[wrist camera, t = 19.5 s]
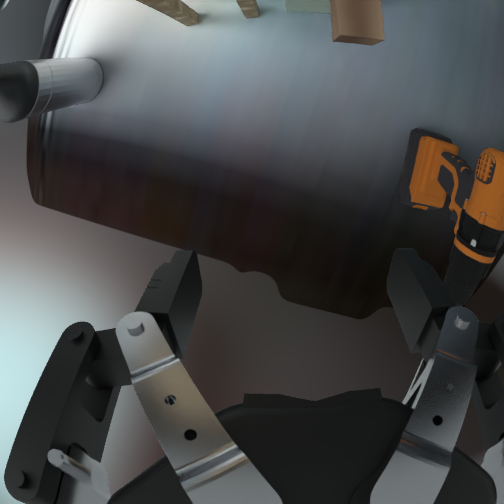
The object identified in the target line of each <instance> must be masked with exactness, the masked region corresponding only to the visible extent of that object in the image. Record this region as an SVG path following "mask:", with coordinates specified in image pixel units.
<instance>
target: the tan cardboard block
mask: <svg viewBox="0 0 504 504" xmlns="http://www.w3.org/2000/svg"><path fill="white" fill-rule="evenodd" d="M329 1H330V11H331V22H332V36H333V42H345V43H355V44H364V45H374V44H377V43H379V42H382V41H384V27H383V16H382V7H381V0H329Z"/></svg>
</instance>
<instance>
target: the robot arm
mask: <svg viewBox="0 0 504 504" xmlns="http://www.w3.org/2000/svg"><path fill="white" fill-rule="evenodd" d="M102 82H103V72H102V68H101V66H100V64H99V63H98V62H97V61H96V60H94V59H92V58H54V59H38V60H27V61H18V62H12V63H5V64H0V120H1V121H2V122H5V123H13V122H16V121H19V120H22V119H25V118H29V117H32V116H35V115H38V114H42V113H45V112H49V111H53V110H57V109H61V108H65V107H69V106H74V105H78V104H83V103H87V102H89V101H91V100H92V99H93V98H94V97H95V96H96V95H97V94H98V92H99V91H100V89H101V86H102ZM387 292H388V295H389V297H390V300H391V302H392V305H393V307H394V310H395V312H396V315H397V317H398V320H399V322H400V325H401V328H402V330H403V333H404V336H405V338H406V341H407V344H408V347H409V350H410V352H411V353H418V352H421V353H422V355H423V360H422V362H421V364H420V366H419V368H418V371H417V373H416V375H415V378H414V380H413V382H412V384H411V386H410V389H409V391H408V393H407V395H406V397H405V399H404V401H403V402H402V403H401V402H399V401H396V400H393V399H389V398H384V397H382V395H381V390H380V388H375V389H366V390H357V391H348V392H345V393H342V394H338V395H335V396H332V397H328V398H325V399H322V400H318V401H310V400H305V399H300V398H294V397H290V396H285V395H280V394H244V401H243V403H239V404H235V405H232V406H229V407H226V408H224V409H221V410H219V411H218V412H216V413H213V412H212V410H211V409H210V408H209V406H208V405H207V403H206V402H205V400H204V399H203V397H202V396H201V394H200V393H199V391H198V389H197V388H196V386H195V385H194V383H193V381H192V380H191V378H190V377H189V375H188V373H187V372H186V370H185V369H184V367H183V365H182V363H181V362H180V360H179V359H184V356H185V352H186V348H187V345H188V341H189V338H190V334H191V331H192V327H193V323H194V320H195V317H196V313H197V309H198V306H199V302H200V299H201V295H202V280H201V275H200V270H199V264H198V259H197V254H196V251H195V250H183V251H176V252H175V254H174V256H173V258H172V260H171V262H170V263H164V264H162V265H161V266H160V267H159V268H158V269H157V270H156V271H155V272H154V274H153V276H152V278H151V281H150V282H149V284H148V286H147V288H146V290H145V292H144V294H143V296H142V298H141V300H140V302H139V304H138V306H137V308H136V310H135V312H133V313H131V314H128V315H126V316H125V317H123V318H122V319H121V320H120V321H119V322H118V324H117V326H116V328H113V329H108V330H102V331H95V330H94V328H93V326H92V325H91V324H90V323H88V322H77V323H74V324H72V325H70V326H69V327H68V328H66V329H65V331H64V332H63V333H62V335H61V337H60V339H59V341H58V343H57V345H56V346H55V349H54V350H53V352H52V354H51V356H50V358H49V361H48V362H47V365H46V366H45V369H44V371H43V373H42V375H41V377H40V379H39V381H38V384H37V386H36V388H35V390H34V393H33V395H32V397H31V399H30V402H29V405H28V407H27V409H26V411H25V414H24V416H23V419H22V422H21V424H20V427H19V430H18V432H17V435H16V438H15V441H14V444H13V447H12V450H11V453H10V456H9V459H8V462H7V466H6V469H5V474H4V481H5V485H6V488H7V490H8V492H9V493H10V494H11V495H12V497H14V498H15V499H16V500H19V501H21V502H23V503H25V504H504V388H503V385H502V382H501V380H500V377H499V374H498V372H497V369H498V368H499V366H500V365H501V364H502V365H503V368H504V314H500V315H498V316H497V317H496V319H495V320H494V322H493V324H488V323H482V322H478V319H477V317H476V316H475V315H474V314H473V313H472V312H471V311H470V310H468V309H466V308H464V307H460V306H456V304H455V302H454V301H453V299H452V297H451V296H450V294H449V292H448V291H447V289H446V287H445V286H444V284H442V281H441V279H440V278H439V277H438V275H437V273H436V271H435V270H434V268H433V267H432V266H431V265H429V264H428V263H427V262H426V261H424V260H421V259H420V257H419V256H418V254H417V253H416V251H415V250H414V249H413V248H397V249H396V250H395V251H394V254H393V259H392V263H391V267H390V271H389V275H388V278H387ZM131 384H133V386H134V389H135V391H136V394H137V396H138V398H139V400H140V403H141V405H142V407H143V409H144V412H145V414H146V416H147V418H148V420H149V422H150V424H151V426H152V428H153V430H154V433H155V435H156V437H157V439H158V440H159V442H160V444H161V446H162V448H163V450H164V452H165V455H164V456H163V457H161V458H160V459H159V460H158V461H156V462H155V463H154V464H153V465H151V466H150V467H149V468H147V469H146V470H145V471H144V472H142V473H141V474H140V475H138V476H137V477H136V478H134V480H132V481H130V482H129V483H128V484H126V485H125V486H124V487H122V488H121V489H119V490H118V491H117V492H116V493H114V494H113V495H112V496H111V494H110V492H109V489H108V486H109V485H108V474H107V471H106V469H105V468H104V467H103V466H102V465H101V464H100V462H101V458H102V454H103V450H104V446H105V442H106V438H107V434H108V431H109V427H110V423H111V419H112V416H113V412H114V409H115V406H116V402H117V399H118V395H119V392H120V389H121V386H123V385H131ZM471 394H472V398H473V401H474V404H475V408H476V411H477V415H478V419H479V422H480V426H481V431H482V435H483V439H484V444H485V449H486V454H485V457H484V463H483V464H482V465H481V466H480V465H478V464H477V463H476V462H475V461H473V460H472V459H471V458H470V457H469V456H467V455H466V454H465V453H464V452H462V451H461V450H460V449H459V448H458V447H456V446H455V443H456V440H457V437H458V435H459V432H460V429H461V426H462V423H463V420H464V417H465V413H466V410H467V407H468V403H469V399H470V396H471Z"/></svg>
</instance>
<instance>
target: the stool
mask: <svg viewBox="0 0 504 504" xmlns="http://www.w3.org/2000/svg"><path fill="white" fill-rule="evenodd" d="M137 1H139V2H141V3H143V4H145V5H147V6H149V7H152V8H154V9H156V10H158V11H160V12H162V13H164V14H166V15H167V16H169V17H171V18H173V19H175V20H177V21H179V22H181V23H182V24H184V25H186V26H189V25H195V24H199V20H198V13H197V12H195V11H194V10H193V9H191V8H190V7H189V6H187V5H186V4H185V3H183V2H182V1H181V0H137ZM236 1H237V3H238V5H239V7H240V8H241V10H242V12H243V14H244V15H245V17H246V18H254V17H259V13H258V5H257V2H256V0H236Z"/></svg>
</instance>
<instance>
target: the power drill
mask: <svg viewBox="0 0 504 504" xmlns="http://www.w3.org/2000/svg"><path fill="white" fill-rule="evenodd" d="M458 150H459V149H458V147H457V146H456V145H454V144H452V142H451V139H449V138H447V137H444V136H441V135H438V134H434V133H431V132H428V131H425V130H421V129H418V128H415V129H414V130H412V131H411V134H410V139H409V144H408V149H407V154H406V158H405V163H404V168H403V172H402V176H401V180H400V184H399V188H398V194H399V195H400V202H401V203H402V204H403V205H407V206H412V207H416V208H421V209H424V210H431V211H433V210H437V209H440V208H442V207H443V205H444V202H445V199H446V195H447V194H448V195H449V196H450V197H451V203H450V206H449V209H450V211H452V214H451V216H450V219H451V220H454V221H455V223H456V226H455V229H454V233H455V234H456V236H455V240H454V243H453V247H452V250H451V253H450V257H449V261H450V264H449V266H448V269H447V271H446V276H445V279H444V281H443V284H444V286H445V287H446V289H447V291H448V292H449V294H450V296H451V297H452V299H453V301H454V302H455V304H456V306H462V305H464V304H466V303H467V302H468V300H469V299H470V297H471V295H472V293H473V292H474V290H475V289H476V288H477V286H478V284H479V282H480V280H481V279H483V278H484V277H485V275H486V274H487V272H488V270H489V268H490V266H491V264H492V262H493V260H494V258H495V256H496V254H497V252H498V251H499V249H500V248H501V247H502V244H503V242H504V153H503V152H501V151H499V150H496V149H494V148H487V149H485V150H484V151H483V152H482V153H481V155H480V157H479V158H478V161H477V164H476V167H475V169H474V171H473V172H472V170H471V168H470V167H469V166H468V165H467V163H466V162H465V161H464V160H463V159H461V158H460V157H458V156H457V154H458Z"/></svg>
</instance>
